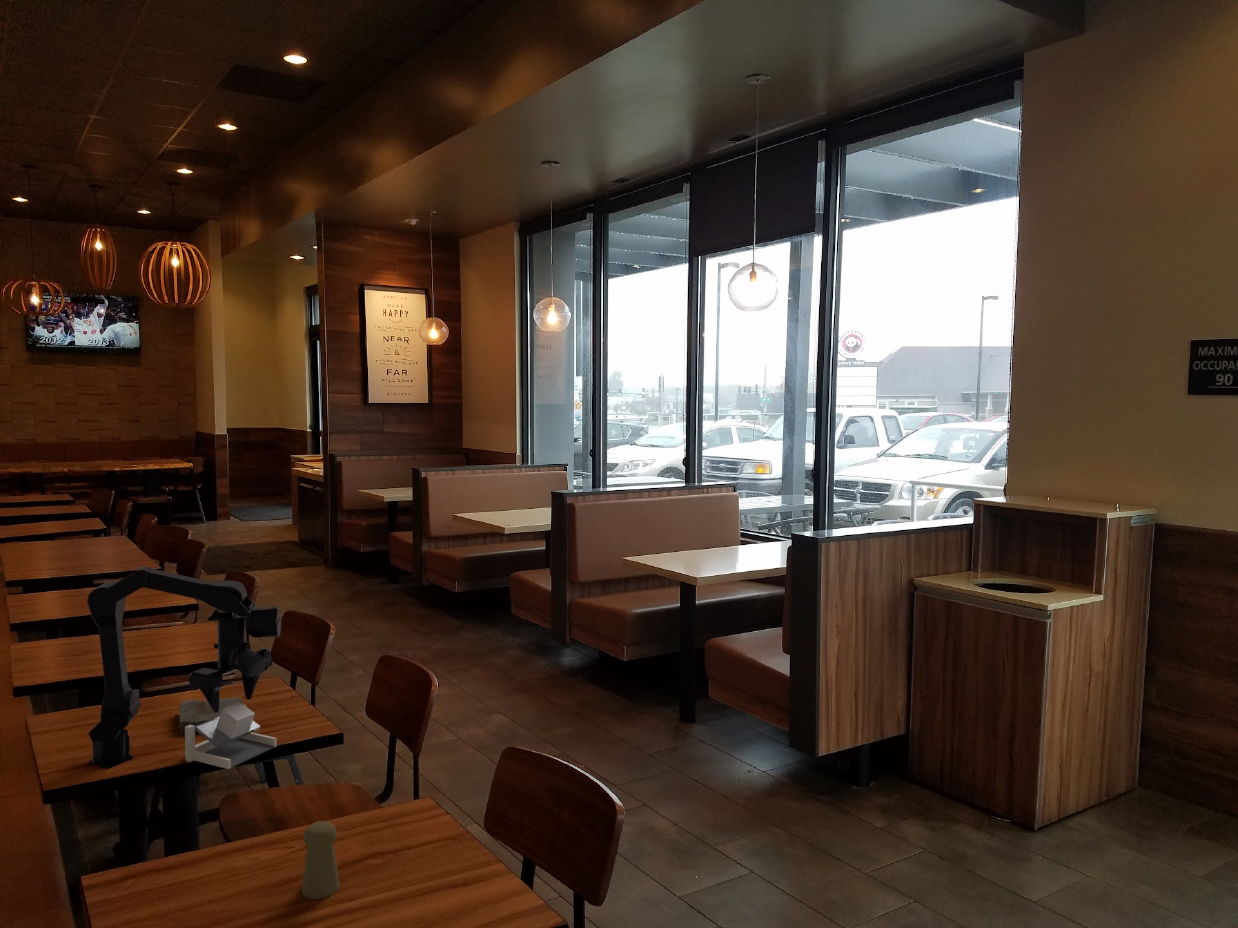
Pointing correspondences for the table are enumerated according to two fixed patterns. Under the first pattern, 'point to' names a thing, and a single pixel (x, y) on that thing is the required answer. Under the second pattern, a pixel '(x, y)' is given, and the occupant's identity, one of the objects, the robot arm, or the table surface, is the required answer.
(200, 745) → the frame
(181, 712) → the marble piece
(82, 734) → the table surface
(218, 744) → the trapdoor
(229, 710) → the light grey cube
